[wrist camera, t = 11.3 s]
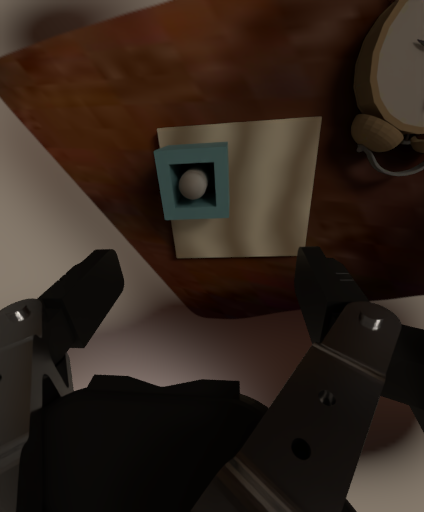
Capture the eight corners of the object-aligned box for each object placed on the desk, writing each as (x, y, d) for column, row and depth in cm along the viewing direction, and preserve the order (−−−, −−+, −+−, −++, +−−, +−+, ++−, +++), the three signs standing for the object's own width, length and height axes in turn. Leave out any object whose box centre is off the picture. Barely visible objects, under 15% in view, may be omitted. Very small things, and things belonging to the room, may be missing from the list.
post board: (317, 116, 25) (353, 115, 17) (300, 249, 32) (321, 289, 24) (160, 128, 26) (132, 131, 19) (179, 252, 33) (163, 291, 26)
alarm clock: (572, -56, 17) (483, 179, 21) (496, -6, 21) (438, 177, 26) (398, -54, 17) (350, 174, 22) (362, -6, 22) (329, 173, 27)
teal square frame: (228, 141, 24) (226, 146, 20) (229, 201, 27) (229, 218, 23) (167, 145, 25) (153, 151, 20) (175, 204, 27) (164, 220, 23)
